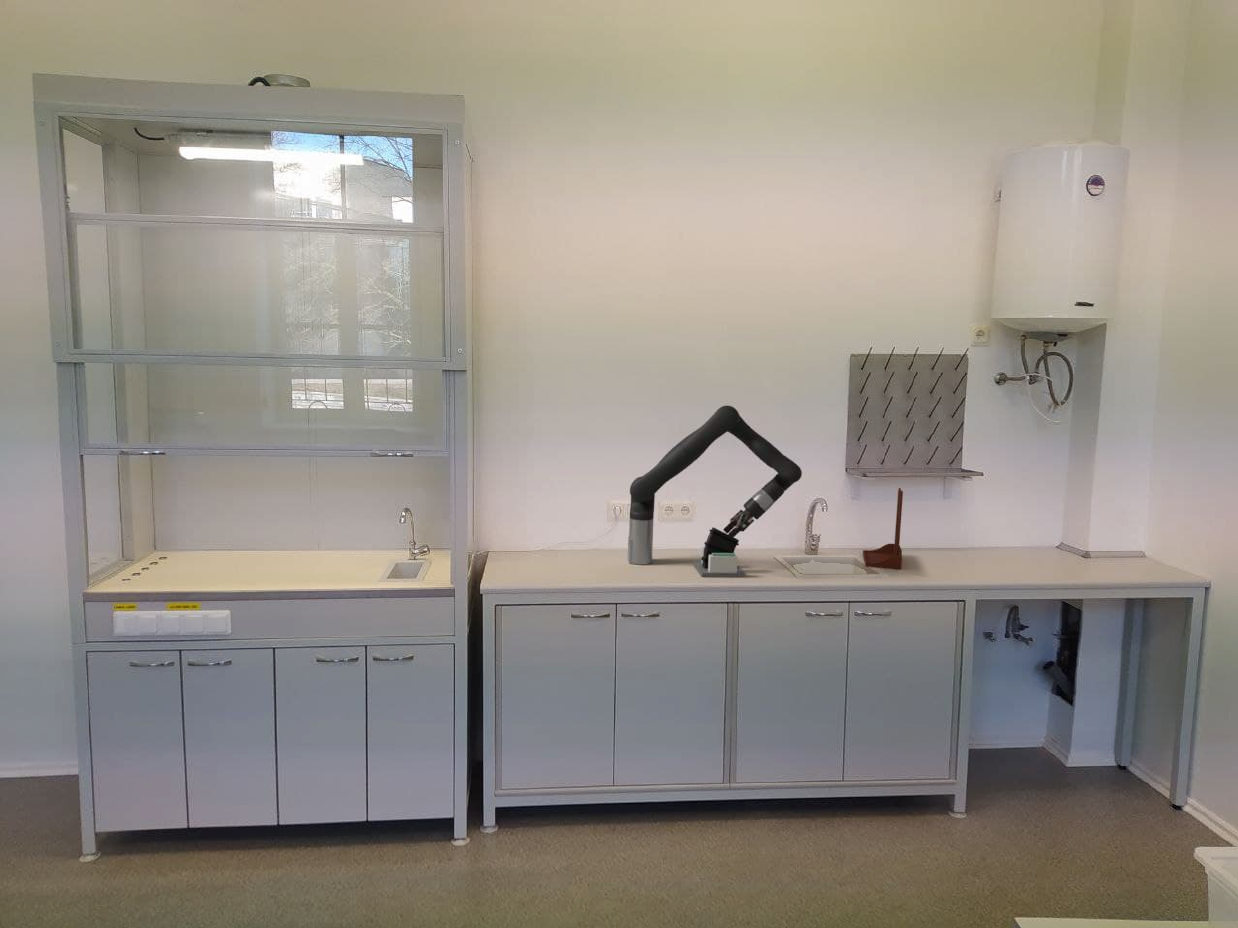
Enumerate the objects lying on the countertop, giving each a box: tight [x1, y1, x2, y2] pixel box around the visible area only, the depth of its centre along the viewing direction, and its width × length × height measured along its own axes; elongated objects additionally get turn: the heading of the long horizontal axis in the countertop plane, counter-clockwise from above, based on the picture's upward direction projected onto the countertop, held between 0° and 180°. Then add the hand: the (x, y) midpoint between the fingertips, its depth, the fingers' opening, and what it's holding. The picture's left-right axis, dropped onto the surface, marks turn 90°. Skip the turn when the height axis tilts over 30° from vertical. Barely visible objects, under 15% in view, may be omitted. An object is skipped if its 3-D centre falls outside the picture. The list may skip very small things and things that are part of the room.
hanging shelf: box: [862, 487, 904, 570], centre depth 310 cm, size 24×13×30 cm, turn 165°
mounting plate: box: [692, 546, 746, 578], centre depth 287 cm, size 16×17×8 cm
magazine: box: [700, 527, 740, 568], centre depth 287 cm, size 4×13×15 cm, turn 100°
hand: (727, 534), depth 286 cm, fingers open, 8 cm apart
